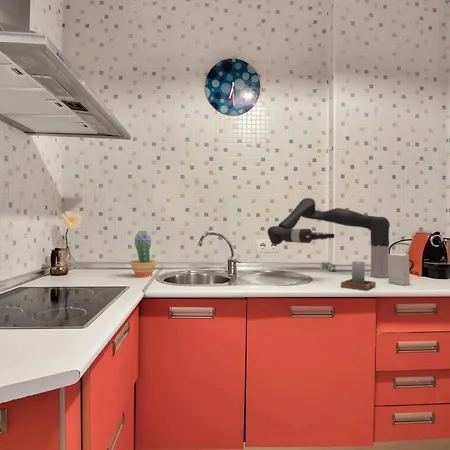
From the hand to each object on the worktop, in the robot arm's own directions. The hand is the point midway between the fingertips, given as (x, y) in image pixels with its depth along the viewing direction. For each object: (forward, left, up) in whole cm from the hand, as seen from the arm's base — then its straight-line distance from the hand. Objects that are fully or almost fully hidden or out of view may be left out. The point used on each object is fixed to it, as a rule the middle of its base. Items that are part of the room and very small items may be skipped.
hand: (330, 236), depth 188 cm
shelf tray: (+4, +16, -23) cm, 28 cm away
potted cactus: (+50, -86, -23) cm, 102 cm away
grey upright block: (+4, +16, -22) cm, 28 cm away
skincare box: (-18, +28, -23) cm, 41 cm away
